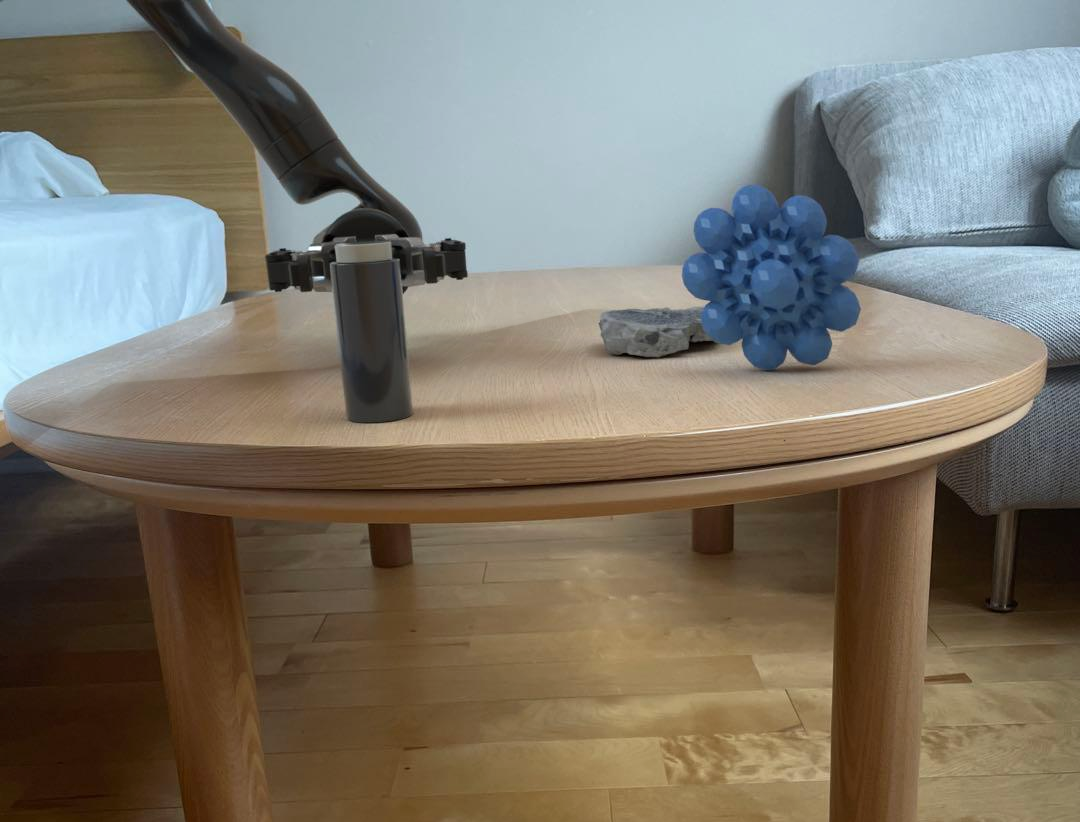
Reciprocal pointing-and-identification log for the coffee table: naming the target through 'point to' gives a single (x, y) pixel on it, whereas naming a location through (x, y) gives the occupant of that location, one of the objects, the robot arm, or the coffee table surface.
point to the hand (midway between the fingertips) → (368, 271)
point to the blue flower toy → (772, 278)
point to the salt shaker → (371, 332)
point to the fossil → (651, 330)
